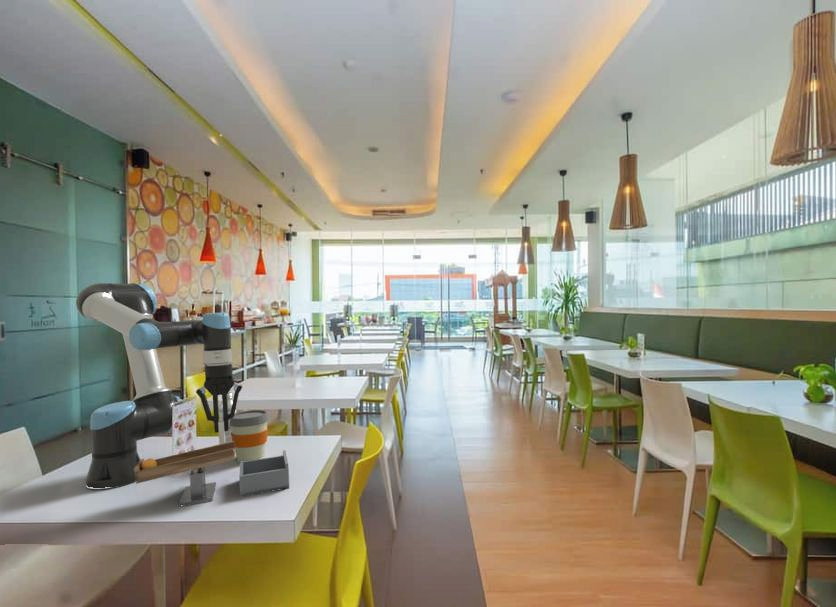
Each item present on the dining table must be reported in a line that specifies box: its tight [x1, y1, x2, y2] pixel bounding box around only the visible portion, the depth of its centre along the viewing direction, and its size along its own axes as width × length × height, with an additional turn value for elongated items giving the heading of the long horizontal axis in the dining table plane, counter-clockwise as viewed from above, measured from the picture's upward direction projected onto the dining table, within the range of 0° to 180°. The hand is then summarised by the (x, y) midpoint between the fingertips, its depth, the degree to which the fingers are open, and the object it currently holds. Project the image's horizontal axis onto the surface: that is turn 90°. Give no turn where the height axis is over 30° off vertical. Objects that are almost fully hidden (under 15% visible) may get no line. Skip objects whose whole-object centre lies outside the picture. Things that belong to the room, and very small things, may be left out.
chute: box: [134, 441, 236, 485], centre depth 129 cm, size 17×24×5 cm
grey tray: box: [238, 450, 290, 497], centre depth 132 cm, size 13×13×7 cm
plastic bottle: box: [218, 391, 238, 443], centre depth 171 cm, size 6×7×20 cm
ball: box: [141, 458, 157, 470], centre depth 123 cm, size 4×4×4 cm
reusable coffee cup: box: [230, 409, 269, 462], centre depth 157 cm, size 13×12×15 cm
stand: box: [178, 467, 217, 507], centre depth 127 cm, size 12×8×7 cm, turn 20°
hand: (222, 442), depth 136 cm, fingers closed
